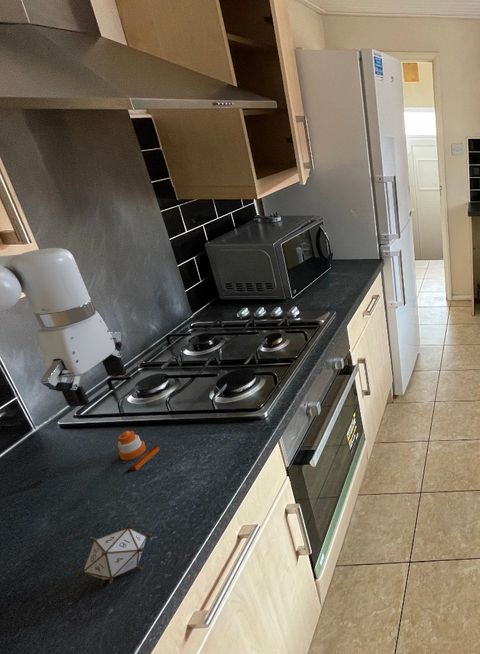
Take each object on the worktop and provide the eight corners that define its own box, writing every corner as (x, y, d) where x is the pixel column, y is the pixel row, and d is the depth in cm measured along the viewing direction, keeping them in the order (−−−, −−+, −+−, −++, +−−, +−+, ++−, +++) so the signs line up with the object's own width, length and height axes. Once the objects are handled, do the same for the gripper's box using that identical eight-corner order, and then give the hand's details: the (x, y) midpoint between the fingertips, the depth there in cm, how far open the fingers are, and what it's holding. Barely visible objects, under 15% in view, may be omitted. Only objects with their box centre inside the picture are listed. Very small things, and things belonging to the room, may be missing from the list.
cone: (111, 469, 92) (98, 441, 89) (135, 448, 97) (124, 421, 95) (136, 470, 91) (124, 442, 89) (160, 449, 97) (149, 423, 94)
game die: (134, 590, 72) (109, 593, 64) (82, 579, 71) (49, 580, 63) (170, 531, 78) (151, 527, 70) (122, 519, 76) (97, 514, 69)
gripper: (82, 295, 85) (111, 366, 92) (-3, 338, 69) (39, 420, 76) (122, 294, 86) (149, 363, 92) (47, 335, 70) (85, 416, 77)
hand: (99, 389), depth 84 cm, fingers open, 9 cm apart
